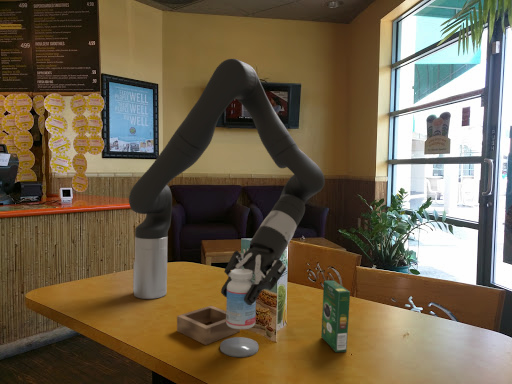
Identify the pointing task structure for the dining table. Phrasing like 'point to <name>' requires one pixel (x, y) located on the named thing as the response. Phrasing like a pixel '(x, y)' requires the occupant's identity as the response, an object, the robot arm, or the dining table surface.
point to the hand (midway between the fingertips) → (235, 298)
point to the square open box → (196, 329)
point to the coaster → (239, 347)
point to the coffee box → (335, 315)
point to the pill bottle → (240, 300)
